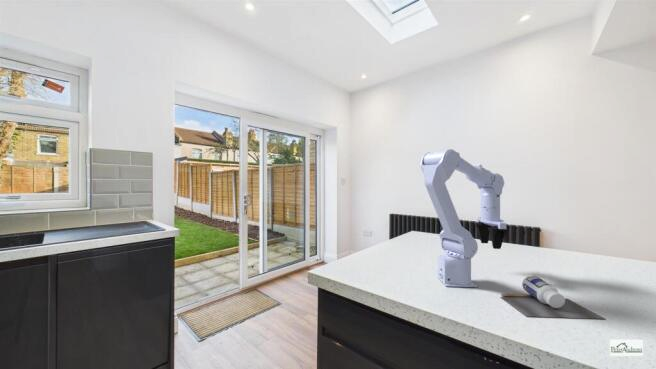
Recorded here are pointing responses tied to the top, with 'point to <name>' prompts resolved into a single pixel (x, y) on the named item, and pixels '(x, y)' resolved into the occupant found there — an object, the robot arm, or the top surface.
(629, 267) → the top surface
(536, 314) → the dark grey mat
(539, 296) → the pill bottle
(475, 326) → the top surface
